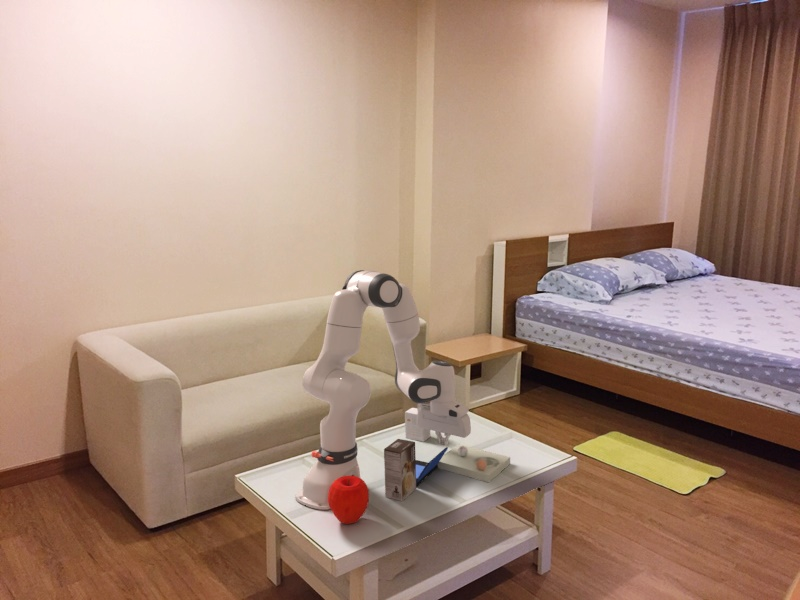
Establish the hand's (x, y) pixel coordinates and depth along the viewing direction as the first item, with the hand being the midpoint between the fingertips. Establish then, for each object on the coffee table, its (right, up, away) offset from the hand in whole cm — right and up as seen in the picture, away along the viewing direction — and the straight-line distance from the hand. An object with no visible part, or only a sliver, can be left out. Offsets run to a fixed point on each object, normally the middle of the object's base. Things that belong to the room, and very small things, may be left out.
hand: (443, 443), depth 225 cm
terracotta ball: (+11, -4, -15) cm, 19 cm away
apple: (-30, -14, -40) cm, 52 cm away
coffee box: (-15, -10, -24) cm, 30 cm away
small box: (-8, -2, +18) cm, 20 cm away
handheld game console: (-8, -8, -13) cm, 17 cm away
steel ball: (+6, -2, -5) cm, 8 cm away
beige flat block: (+10, -6, -6) cm, 13 cm away
